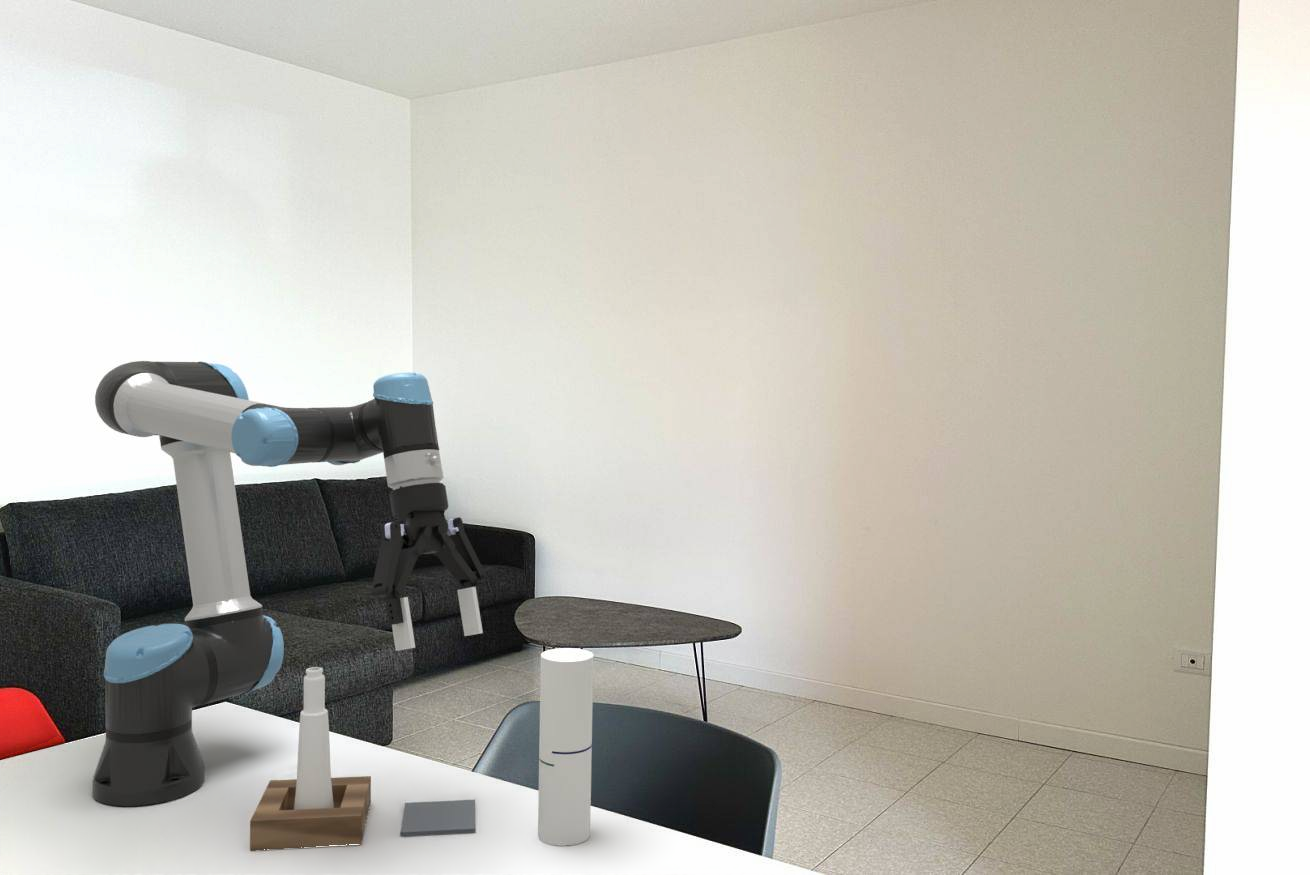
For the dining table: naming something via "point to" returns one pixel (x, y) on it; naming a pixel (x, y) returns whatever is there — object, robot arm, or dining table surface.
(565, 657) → the cylindrical container
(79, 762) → the dining table surface
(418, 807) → the mat
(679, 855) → the dining table surface
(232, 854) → the dining table surface
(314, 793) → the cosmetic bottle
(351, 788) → the collar
